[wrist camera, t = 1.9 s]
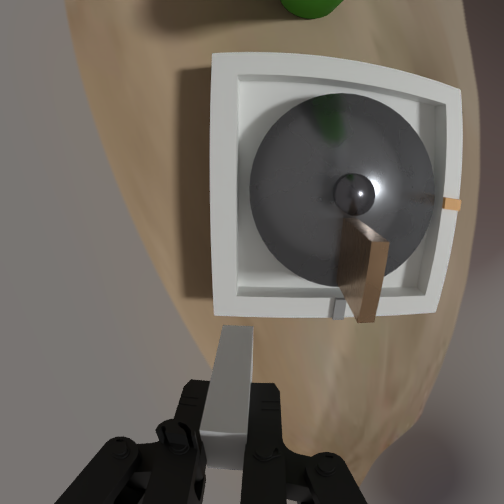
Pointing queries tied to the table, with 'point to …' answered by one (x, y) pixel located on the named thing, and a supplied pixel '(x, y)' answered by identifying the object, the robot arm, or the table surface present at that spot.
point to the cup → (310, 7)
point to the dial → (342, 194)
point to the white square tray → (241, 160)
